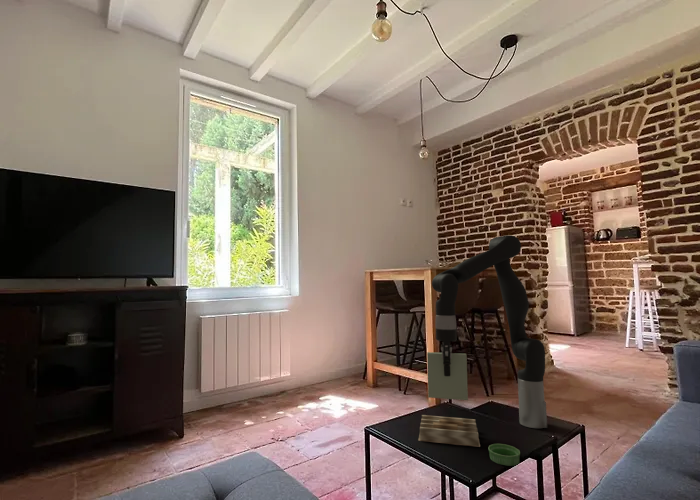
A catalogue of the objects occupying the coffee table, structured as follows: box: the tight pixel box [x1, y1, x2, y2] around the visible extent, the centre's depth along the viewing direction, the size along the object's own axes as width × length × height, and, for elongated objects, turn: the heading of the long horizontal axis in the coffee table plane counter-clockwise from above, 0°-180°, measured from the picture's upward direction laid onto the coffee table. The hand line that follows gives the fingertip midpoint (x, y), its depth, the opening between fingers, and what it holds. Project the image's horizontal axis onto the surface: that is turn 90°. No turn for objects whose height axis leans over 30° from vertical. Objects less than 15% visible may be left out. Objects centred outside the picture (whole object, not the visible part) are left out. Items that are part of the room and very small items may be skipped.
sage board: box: [426, 351, 469, 401], centre depth 137 cm, size 14×2×16 cm, turn 76°
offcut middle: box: [439, 419, 463, 426], centre depth 131 cm, size 8×2×5 cm, turn 76°
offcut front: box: [433, 422, 458, 430], centre depth 128 cm, size 8×2×5 cm, turn 76°
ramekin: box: [488, 443, 521, 467], centre depth 113 cm, size 9×9×4 cm
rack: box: [417, 414, 481, 448], centre depth 131 cm, size 20×14×6 cm
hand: (447, 375), depth 137 cm, fingers closed on sage board, 2 cm apart
